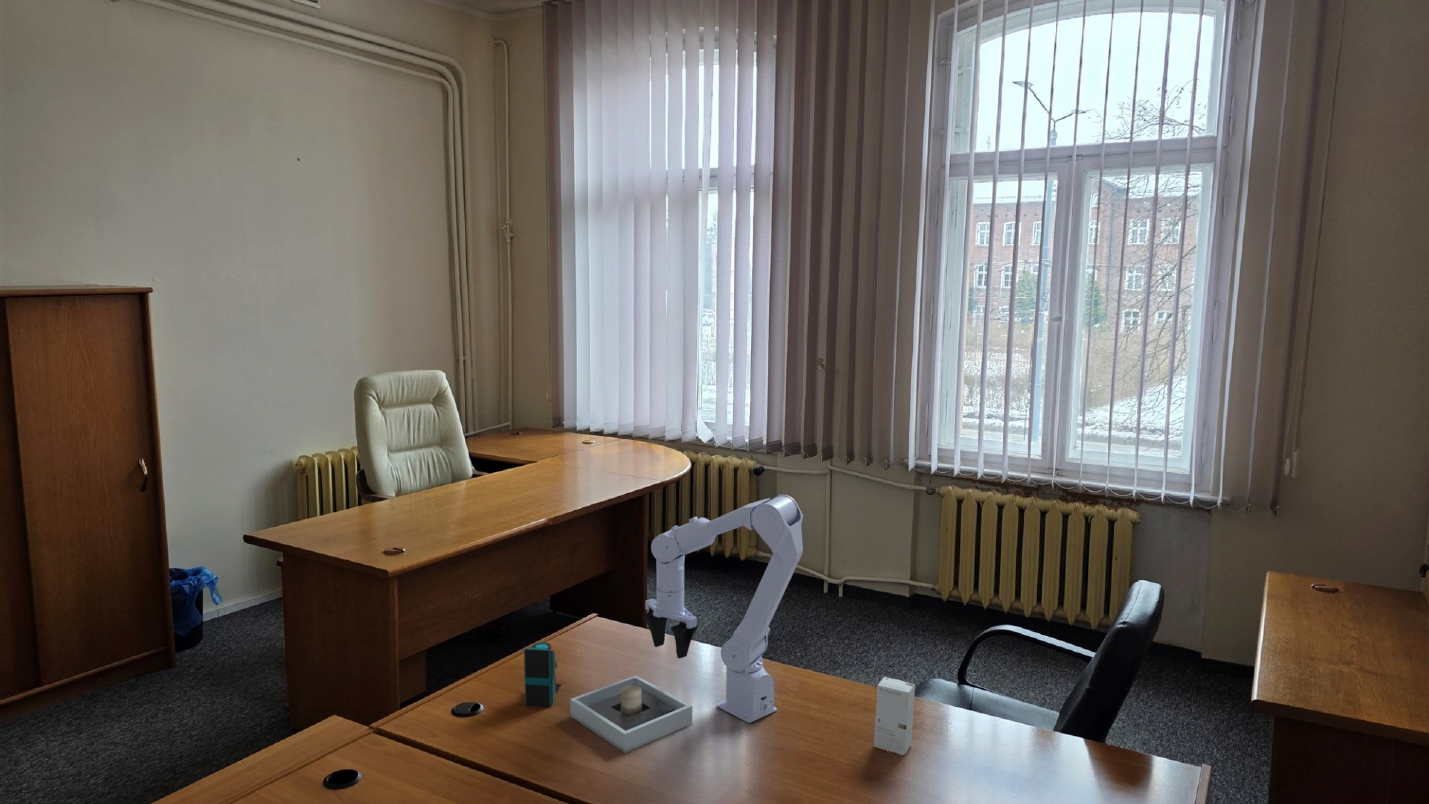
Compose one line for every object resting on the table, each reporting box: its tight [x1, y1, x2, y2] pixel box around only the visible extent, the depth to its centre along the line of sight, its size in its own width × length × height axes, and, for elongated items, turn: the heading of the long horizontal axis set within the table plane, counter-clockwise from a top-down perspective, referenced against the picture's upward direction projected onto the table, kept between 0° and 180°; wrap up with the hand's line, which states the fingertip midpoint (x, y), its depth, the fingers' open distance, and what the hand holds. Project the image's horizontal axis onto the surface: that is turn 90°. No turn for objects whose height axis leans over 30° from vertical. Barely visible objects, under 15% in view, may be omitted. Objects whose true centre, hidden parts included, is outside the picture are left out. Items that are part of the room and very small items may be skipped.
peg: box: [621, 685, 642, 717], centre depth 162 cm, size 4×4×6 cm
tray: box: [569, 675, 693, 754], centre depth 162 cm, size 18×16×4 cm
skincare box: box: [873, 676, 916, 755], centre depth 152 cm, size 6×4×12 cm
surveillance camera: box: [523, 642, 562, 709], centre depth 171 cm, size 6×12×10 cm
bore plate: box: [587, 690, 674, 731], centre depth 162 cm, size 12×12×2 cm
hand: (670, 651), depth 174 cm, fingers open, 7 cm apart
